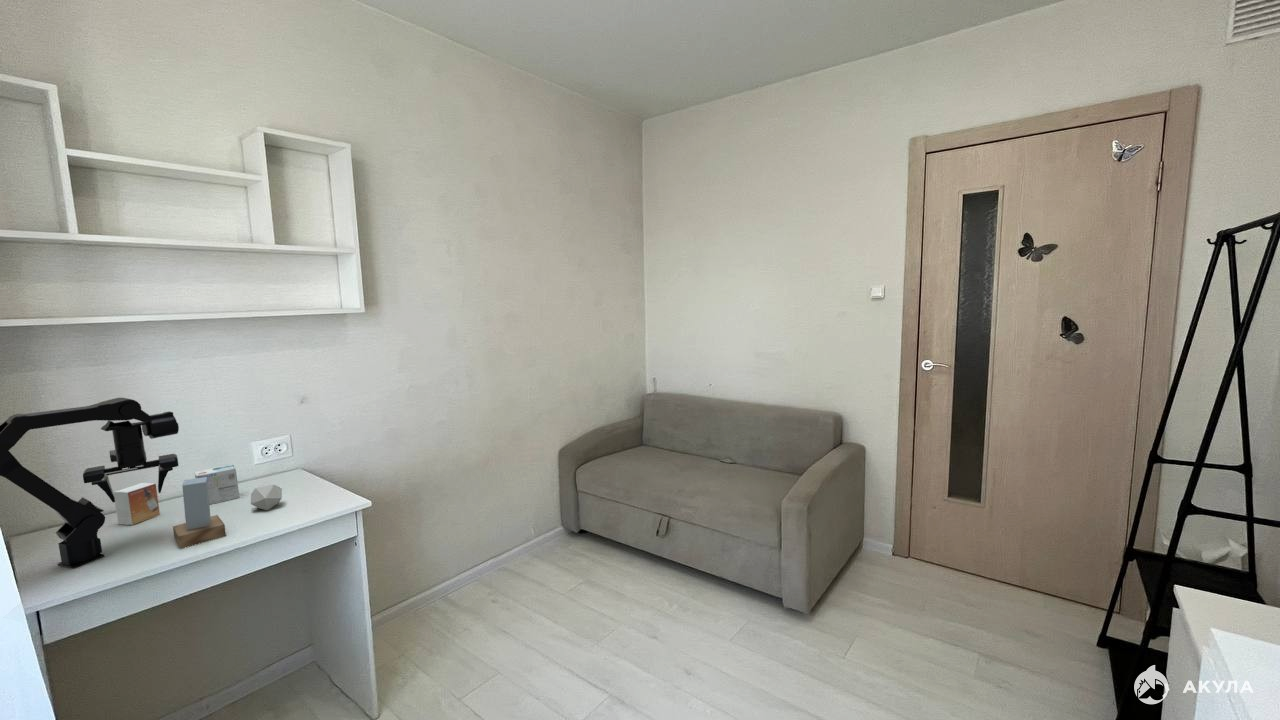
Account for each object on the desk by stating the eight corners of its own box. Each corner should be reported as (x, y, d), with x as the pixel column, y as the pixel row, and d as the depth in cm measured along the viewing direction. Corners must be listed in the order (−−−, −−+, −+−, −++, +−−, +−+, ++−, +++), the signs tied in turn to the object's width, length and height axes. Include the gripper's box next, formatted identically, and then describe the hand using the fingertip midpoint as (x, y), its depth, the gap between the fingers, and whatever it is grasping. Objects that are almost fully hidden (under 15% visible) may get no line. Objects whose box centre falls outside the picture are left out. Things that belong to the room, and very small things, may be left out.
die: (289, 507, 171) (287, 479, 175) (268, 504, 163) (266, 475, 167) (266, 516, 171) (265, 488, 175) (244, 513, 163) (243, 484, 167)
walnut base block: (180, 550, 142) (178, 536, 142) (174, 539, 149) (172, 526, 148) (226, 537, 150) (224, 524, 149) (218, 527, 156) (217, 514, 156)
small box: (132, 525, 157) (126, 492, 156) (117, 524, 159) (112, 491, 157) (161, 514, 165) (156, 482, 164) (147, 513, 166) (142, 482, 165)
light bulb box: (237, 492, 183) (233, 463, 182) (240, 497, 178) (236, 467, 177) (197, 501, 175) (193, 470, 174) (199, 507, 171) (195, 475, 169)
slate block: (186, 530, 145) (182, 485, 143) (188, 523, 149) (184, 480, 147) (209, 525, 148) (205, 482, 146) (210, 519, 152) (206, 476, 150)
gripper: (173, 431, 156) (180, 481, 158) (82, 444, 143) (91, 498, 145) (174, 438, 148) (182, 490, 150) (78, 453, 135) (88, 510, 137)
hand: (137, 497), depth 145 cm, fingers open, 9 cm apart
